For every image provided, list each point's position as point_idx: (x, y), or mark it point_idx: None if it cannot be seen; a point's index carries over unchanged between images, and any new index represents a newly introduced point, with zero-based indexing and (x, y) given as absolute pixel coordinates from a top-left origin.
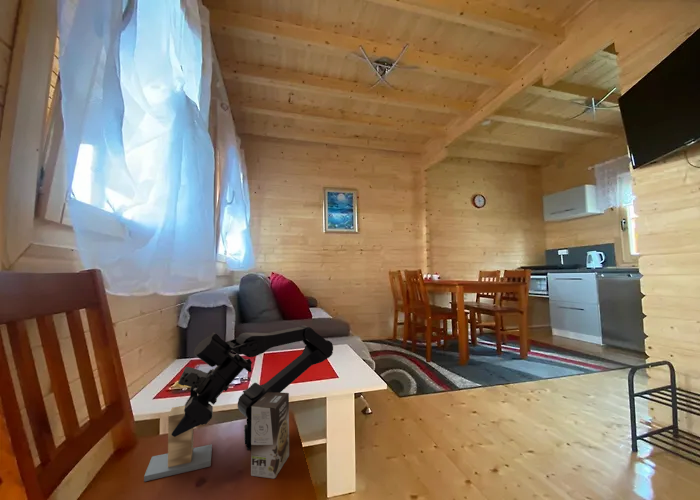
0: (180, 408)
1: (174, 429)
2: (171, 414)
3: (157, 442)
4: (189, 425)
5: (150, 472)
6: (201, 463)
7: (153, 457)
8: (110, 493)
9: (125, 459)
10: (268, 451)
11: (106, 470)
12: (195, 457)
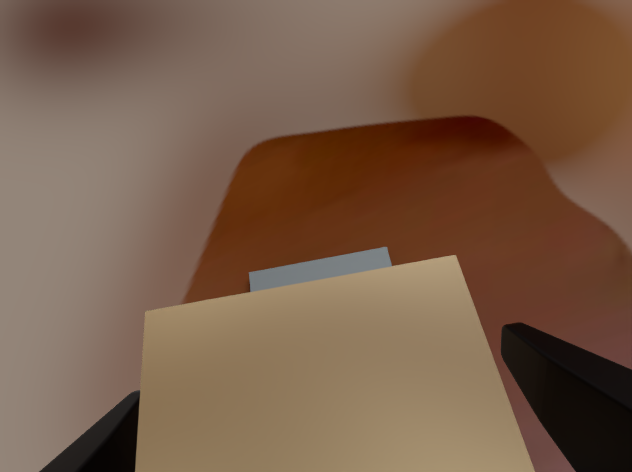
0: (401, 426)
1: (97, 429)
2: (191, 337)
3: (536, 217)
4: None
5: (266, 287)
6: None
7: (378, 255)
8: (227, 199)
9: (413, 155)
10: None
11: (356, 131)
12: None
